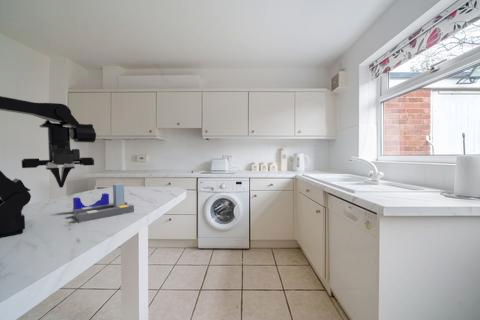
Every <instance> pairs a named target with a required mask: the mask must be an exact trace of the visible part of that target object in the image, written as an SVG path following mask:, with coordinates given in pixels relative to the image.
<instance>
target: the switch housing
mask: <svg viewBox="0 0 480 320" xmlns="http://www.w3.org/2000/svg"><path fill="white" fill-rule="evenodd" d="M134 212H135V205H133V204H128V202H126V201H125V205H122V206H118V207H114V205H113V202H112V203H109V204H107V205H101V206H94V207H85V208H81V209H75V210H74V211H73V217H74V218H75V219H76V220H77V222H79V223H84V222H90V221H93V220H100V219H104V218H110V217H114V216H119V215H124V214H129V213H134Z"/></svg>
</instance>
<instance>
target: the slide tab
mask: <svg viewBox="0 0 480 320" xmlns="http://www.w3.org/2000/svg"><path fill="white" fill-rule="evenodd" d="M112 192H113V193H112V199H113V202H112V203H113V205H114V207H118V206H122V205H125V202H126V201H125V184H123V183H113V184H112Z"/></svg>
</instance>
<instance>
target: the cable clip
mask: <svg viewBox="0 0 480 320" xmlns="http://www.w3.org/2000/svg"><path fill="white" fill-rule="evenodd" d="M72 203H73V205H72V206H73V207H72V211H73V212H74V210H75V209H81V208H85V207H94V206H101V205H107V204H110V194H109V193H107V192H106V193H101V197H100V199H99V200H97V201H96V202H94V203H92V204H91V205H90V204H89V205H88V206H87V205H85V204H83V203H82V200H81V198H80V197H79V196H77V197H72Z"/></svg>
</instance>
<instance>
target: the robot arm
mask: <svg viewBox="0 0 480 320" xmlns="http://www.w3.org/2000/svg"><path fill="white" fill-rule="evenodd" d="M0 111H2V112H8V113H9V112H10V113H17V114H22V115H29V116H34V117H37V118H40V119H41V120H45V121H44V122H43V123H42V124H39V128H46V129H47V138H48V139H47V140H48V142H47V143H48V159H40V158H39V157H38V158H37V157H35V158H34V157H33V158H22V159H21V161H20V162H21V168H22V169H34V168H38V167H41V166H45V170H47V171H48V170H49V171H50V172H51V173H52V175H53V177H54V178H55V180H56V184H57V185H58V188H60V189H61V188H63V187H64V186H65V182H66V179H67V177H68V175H69V174H70V172H71V170H72V169H75V168H76V167H75V165H80V166H83V167H84V166H94V165H95V159H94V157H90V156H87V157H80V156H81V153H80V148H72V149H71V140H73V142H74V143H90V144H91V143H92V144H93V143H95V141H96V138H97V132H96V130H95V128H94V125H93V124H92V123H87V124H84V123H80V122H79V121H78V120H77V119H76V118H75V117H74V115H73V114H72V110H71V109H70V107H69V106H68V105H66V104H65V103H64V104H63V103H60V102H59V103H57V102H56V103H54V102H33V101H28V100H23V99H22V100H21V99H19V98H18V99H17V98H12V97H7V96H1V95H0ZM59 165H60V166H61V165H62V166H61V173H60V167H58V166H59ZM30 191H31V189H30V188H27V187H26V186H25V184H24V182H23V181H22V180H21V179H19V178H17V177H15V178H14V179H10V178H9V177H7V176H6V175H5V174H4V173H3V172H2V170H0V238H3V237H9V236H14V235H19V234H23V233H24V230H25V229H26V219H25V214H23V213H22V211H23V209H24V207H25V206H26V205H28V204H29V202H30V201H31V198H32V195H31V193H30Z"/></svg>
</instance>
